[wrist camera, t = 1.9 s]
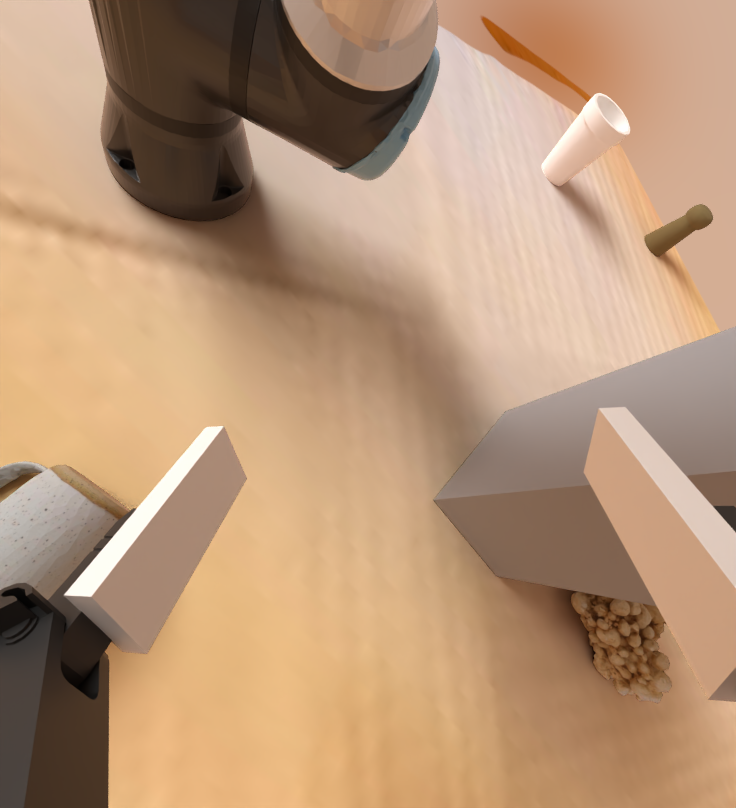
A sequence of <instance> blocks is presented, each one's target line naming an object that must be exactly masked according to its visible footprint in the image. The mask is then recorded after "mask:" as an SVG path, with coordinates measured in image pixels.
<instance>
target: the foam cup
mask: <svg viewBox="0 0 736 808" xmlns="http://www.w3.org/2000/svg"><path fill="white" fill-rule="evenodd" d="M629 132H630V126H629V123H628V120H627V118H626V117H625V115H624V113H623V112H622V110H620V108H619V107H618V106H617V104H616V103H614V101H612V100H611V99H610V98H609V97H607V96H606V95H604V94H602V93H597V94H595V95H594V96H593V97H592V98H591V99H590V100H589V102H588V103H587V104H586V105H585V106H584V108H583V110H582V112H581V113H580V114H579V116H578V117H577V118H576V119H575V121H574V122H573V123H572V125H571V126H570V127H569V129H568V130H567V131H566V133H565V134H564V135H563V137H562V138H561V139H560V141H559V142H558V143H557V145H556V146H555V147H554V149H553V150H552V151H551V153H550V154H549V155H548V157H547V158H546V159H545V161H544V162H543V164H542V170H543V173H544V175H545V176H546V178H547V179H548V180H549V181H550V182H551V183H553V184H554V185H556V186H561V185H563V184H564V183H566V182H567V181H569V180H570V179H571V178H572V177H574V176H575V175H576V174H578V173H579V172H580V171H582V170H583V169H584V168H586V167H587V166H588V165H590V164H591V163H592V162H593V161H595V160H596V159H597V158H599V157H600V156H601V155H603V154H604V153H605V152H607V151H608V150H609V149H611V148H612V147H613V146H616V145H617V144H618V143H620V142H621V141H622V140H623V139H624V138H625V137H626V136H627V135H628V134H629Z"/></svg>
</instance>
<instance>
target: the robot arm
mask: <svg viewBox="0 0 736 808" xmlns="http://www.w3.org/2000/svg"><path fill="white" fill-rule="evenodd" d="M89 3H90V7H91V12H92V16H93V20H94V25H95V29H96V33H97V37H98V42H99V46H100V50H101V55H102V58H103V62H104V67H105V71H106V77H107V88H106V95H105V102H104V109H103V115H102V122H101V141H102V146H103V149H104V153H105V156H106V160H107V163H108V166H109V168H110V170H111V172H112V174H113V175H114V177H115V178H116V180H117V181H118V182H119V184H120V185H121V186H122V187H123V188H124V189H125V190H126V191H127V192H128V193H129V194H131V195H132V196H133V197H134V198H136V199H137V200H139V201H140V202H142V203H143V204H145V205H147V206H148V207H150V208H152V209H154V210H156V211H159V212H161V213H164V214H166V215H170V216H173V217H177V218H181V219H187V220H197V221H206V220H215V219H220V218H223V217H226V216H229V215H231V214H233V213H234V212H236V211H237V210H239V209H240V208H241V207H242V206H243V205H244V204H245V202H246V201H247V199H248V197H249V195H250V191H251V185H252V177H253V165H252V159H251V154H250V150H249V146H248V142H247V137H246V133H245V128H244V124H243V120H242V117H243V118H245V119H247V120H248V121H250V122H252V123H254V124H256V125H258V126H260V127H262V128H263V129H265V130H267V131H269V132H271V133H273V134H275V135H277V136H278V137H280V138H282V139H284V140H286V141H288V142H289V143H291V144H293V145H295V146H297V147H298V148H300V149H302V150H304V151H306V152H307V153H309V154H311V155H313V156H315V157H316V158H318V159H320V160H322V161H324V162H325V163H327V164H329V165H331V166H332V167H333V168H334V169H336V170H337V171H340V172H343V173H345V172H346V173H349V174H351V175H353V176H355V177H357V178H359V179H362V180H374V179H376V178H378V177H380V176H381V175H382V174H384V173H385V172H386V171H387V170H388V169H389V168H390V167H391V166H392V164H393V163H394V162H395V161H396V159H397V158H398V157H399V155H400V154H401V152H402V151H403V149H404V148H405V146H406V144H407V142H408V139H409V135H410V134H411V133H412V132H413V131H414V130H415V128H416V126H417V125H418V123H419V121H420V119H421V117H422V115H423V113H424V111H425V109H426V106H427V104H428V102H429V99H430V97H431V94H432V91H433V89H434V85H435V82H436V79H437V75H438V71H439V64H440V57H439V52H438V50H437V48H436V47H435V43H436V38H437V30H438V12H437V4H436V0H89ZM584 474H585V476H586V478H587V479H588V481H589V483H590V485H591V487H592V489H593V490H594V492H595V494H596V496H597V498H598V500H599V501H600V503H601V505H602V507H603V509H604V511H605V512H606V514H607V516H608V518H609V520H610V521H611V523H612V525H613V527H614V529H615V531H616V532H617V534H618V536H619V538H620V540H621V542H622V543H623V545H624V547H625V549H626V551H627V553H628V554H629V556H630V558H631V560H632V562H633V564H634V565H635V567H636V569H637V571H638V573H639V574H640V576H641V578H642V580H643V582H644V584H645V585H646V587H647V589H648V591H649V593H650V595H651V596H652V598H653V600H654V602H655V604H656V606H657V607H658V609H659V611H660V613H661V615H662V617H663V618H664V620H665V622H666V624H667V626H668V627H669V629H670V631H671V633H672V635H673V637H674V638H675V640H676V642H677V644H678V646H679V648H680V649H681V651H682V653H683V655H684V657H685V659H686V660H687V662H688V664H689V666H690V668H691V670H692V671H693V673H694V675H695V677H696V679H697V680H698V682H699V684H700V686H701V688H702V690H703V691H704V693H705V695H706V697H707V699H708V700H721V701H733V702H736V507H735V506H712V505H711V504H710V503H709V502H708V500H707V499H706V498H705V497H704V496H703V495H702V494H701V492H700V491H699V490H698V489H697V488H696V487H695V486H694V484H693V483H692V482H691V481H690V480H689V479H688V478H687V476H686V475H685V474H684V473H683V472H682V471H681V470H680V469H679V467H678V466H677V465H676V464H675V463H674V462H673V461H672V459H671V458H670V457H669V456H668V455H667V454H666V453H665V451H664V450H663V449H662V448H661V447H660V446H659V445H658V444H657V442H656V441H655V440H654V439H653V438H652V437H651V436H650V434H649V433H648V432H647V431H646V430H645V429H644V428H643V426H642V425H641V424H640V423H639V422H638V421H637V420H636V419H635V417H634V416H633V415H632V414H631V413H630V412H629V411H628V409H627V408H626V407H612V408H598V412H597V417H596V421H595V425H594V430H593V434H592V438H591V443H590V447H589V451H588V455H587V460H586V464H585V468H584ZM246 479H247V478H246V475H245V473H244V471H243V469H242V466H241V464H240V462H239V459H238V457H237V455H236V453H235V450H234V448H233V446H232V443H231V441H230V439H229V437H228V434H227V432H226V430H225V427H224V426H218V427H206V428H205V429H204V430H203V431H202V432H201V434H200V435H199V436H198V437H197V438H196V440H195V441H194V442H193V443H192V444H191V445H190V447H189V448H188V449H187V450H186V451H185V453H184V454H183V455H182V456H181V457H180V458H179V460H178V461H177V462H176V463H175V464H174V466H173V467H172V468H171V469H170V470H169V471H168V473H167V474H166V475H165V476H164V477H163V479H162V480H161V481H160V482H159V483H158V484H157V486H156V487H155V488H154V489H153V490H152V492H151V493H150V494H149V495H148V496H147V497H146V499H145V500H144V501H143V502H142V503H141V504H140V506H139V507H138V508H137V509H132V510H131V511H130V512H128V513H127V514H126V515H124V516H123V517H122V518H121V519H119V520H118V521H117V522H116V523H115V524H114V525H113V526H112V527H111V529H110V530H109V531H108V532H107V533H106V534H105V535H104V539H101V540H100V541H99V542H98V543H97V545H96V546H95V547H94V548H93V549H94V550H93V551H90V553H89V554H88V555H87V556H86V557H85V558H84V560H83V561H82V562H81V563H80V564H79V565H78V566H77V568H76V569H75V570H74V571H73V572H72V573H71V574H70V576H69V577H68V578H67V579H66V580H65V581H64V582H63V584H62V585H61V586H60V587H59V588H58V589H57V590H56V592H55V593H54V594H53V595H52V596H51V597H50V598H49V599H48V600H47V599H45V598H44V597H43V596H42V595H41V594H40V593H39V592H38V591H37V590H36V589H34V588H33V587H32V586H31V585H29V584H27V583H16V584H13V585H11V586H8V587H5V588H3V589H1V590H0V808H108V752H109V659H108V656H107V654H106V653H105V650H106V649H107V647H108V646H109V644H110V643H111V641H112V642H113V643H114V644H115V645H116V646H117V647H118V648H119V649H120V650H121V651H122V652H131V653H143V654H147V653H148V651H149V650H150V648H151V646H152V644H153V643H154V641H155V639H156V637H157V636H158V634H159V632H160V630H161V629H162V627H163V625H164V623H165V622H166V620H167V618H168V616H169V615H170V613H171V611H172V609H173V607H174V606H175V604H176V602H177V600H178V599H179V597H180V595H181V593H182V592H183V590H184V588H185V586H186V585H187V583H188V581H189V579H190V578H191V576H192V574H193V572H194V571H195V569H196V567H197V565H198V564H199V562H200V560H201V558H202V557H203V555H204V553H205V551H206V550H207V548H208V546H209V544H210V543H211V541H212V539H213V537H214V536H215V534H216V532H217V530H218V529H219V527H220V525H221V523H222V521H223V520H224V518H225V516H226V514H227V513H228V511H229V509H230V507H231V506H232V504H233V502H234V500H235V499H236V497H237V495H238V493H239V492H240V490H241V488H242V486H243V485H244V483H245V481H246Z"/></svg>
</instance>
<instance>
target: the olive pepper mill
mask: <svg viewBox="0 0 736 808" xmlns="http://www.w3.org/2000/svg"><path fill="white" fill-rule="evenodd" d="M712 220H713V216H712V213H711V211H710V210H709V208H708V207H707V206H705V205H702V204H700V205H696V206H694V207H692V208H691V209H690V210H689V211H688V212H687V213H686V215H684V216H682V217H681V218H679V219H677V220H675V221H673V222H671V223H669V224H667V225H665V226H663V227H661V228H659V229H657V230H655V231H654V232H652V233H650V234H648V235H646V236H645V243H646V245H647V247H648V249H649V250H650V251H651V252H652V253H653V254H654V255H656V256H661V255H662V254H663V253H665V252H666V251H667V250H669V249H670V248H672V247H673V246H674V245H676V244H677V243H678V242H680V241H681V240H683V239H684V238H685V237H687V236H688V235H689V234H691V233H692V232H693V231H695V230H700V229H702V228H705V227H706V226H708V225H709V224H710V223H711V222H712Z"/></svg>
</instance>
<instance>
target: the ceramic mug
mask: <svg viewBox="0 0 736 808" xmlns="http://www.w3.org/2000/svg"><path fill="white" fill-rule="evenodd" d="M27 473H40V474H38V475H37V476H35V477H33V478H32V479H30V480H29V481H28V482H26V483H25V484H24V485H22V486H21V487H20V488H18V489H17V490H16V491H15V492H13V493H12V494H11V495H10V496H8V497H7V498H6V499H5V500H3V501H2V502H0V590H1V589H3V588H5V587H8V586H11V585H13V584H16V583H27V584H29V585H31V586H32V587H33V588H34V589H36V590H37V591H38V592H39V593H40V594H41V595H42V596H43V597H44V598H45V599H47V600H48V599H49V598H50V597H51V596H52V595H53V594H54V593H55V592H56V590H57V589H58V588H59V587H60V586H61V585H62V584H63V582H64V581H65V580H66V579H67V578H68V577H69V576H70V574H71V573H72V572H73V571H74V570H75V569H76V568H77V566H78V565H79V564H80V563H81V562H82V561H83V560H84V558H85V557H86V556H87V555H88V554H89V553H90V551H93V550H94V549H93V548H94V547H95V546H96V545H97V543H98V542H99V541H100V540H101V539H104V535H105V534H106V533H107V532H108V531H109V530H110V529H111V527H112V526H113V525H114V524H115V523H116V522H117V521H118V520H119V519H121V518H122V517H123V516H124V515H126V514H127V513H128V512H130V511H129V510H128V509H127V508H126V507H125V506H123V505H122V504H121V503H120V502H118V501H117V500H116V499H115V498H113V497H112V496H111V495H109V494H108V493H107V492H105V491H104V490H103V489H101V488H100V487H99V486H97V485H96V484H94V483H93V482H92V481H90V480H89V479H87V478H86V477H85V476H83V475H82V474H80V473H79V472H77V471H76V470H74V469H73V468H71V467H69V466H67V465H58V466H54V467H51V468H50V469H48V468H46V467H44V466H42V465H40V464H37V463H32V462H17V463H12V464H8V465H5V466H3V467H0V488H1V487H3V486H4V485H6V484H8V483H9V482H11V481H13V480H16V479H17V478H18V477H20V476H21V475H23V474H27Z"/></svg>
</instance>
